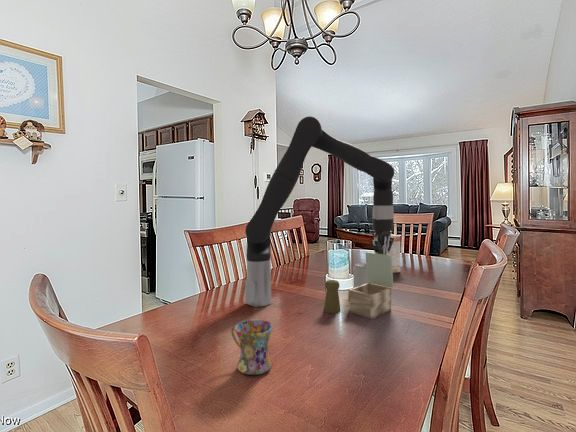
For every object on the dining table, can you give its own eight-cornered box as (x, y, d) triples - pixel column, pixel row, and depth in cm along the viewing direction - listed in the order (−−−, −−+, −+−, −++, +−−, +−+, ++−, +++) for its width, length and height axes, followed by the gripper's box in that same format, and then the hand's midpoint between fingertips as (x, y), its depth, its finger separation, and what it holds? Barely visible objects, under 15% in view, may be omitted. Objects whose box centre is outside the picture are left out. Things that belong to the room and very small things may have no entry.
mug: (280, 365, 84) (280, 324, 83) (257, 383, 77) (256, 337, 76) (244, 352, 91) (243, 314, 90) (219, 368, 83) (218, 326, 82)
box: (372, 319, 113) (372, 295, 113) (348, 311, 121) (348, 289, 120) (391, 310, 121) (391, 288, 121) (367, 303, 129) (367, 283, 128)
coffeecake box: (373, 267, 189) (373, 232, 188) (384, 266, 191) (384, 232, 190) (389, 273, 175) (389, 236, 173) (400, 272, 177) (401, 235, 175)
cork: (329, 306, 126) (329, 277, 126) (343, 309, 123) (343, 280, 122) (320, 310, 122) (320, 280, 121) (335, 314, 118) (334, 283, 117)
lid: (390, 255, 119) (391, 255, 119) (365, 252, 126) (366, 251, 127) (392, 287, 121) (393, 287, 121) (367, 282, 128) (368, 281, 129)
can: (371, 295, 139) (371, 266, 138) (353, 294, 141) (353, 266, 140) (370, 289, 146) (371, 262, 146) (353, 289, 148) (353, 262, 147)
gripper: (383, 216, 132) (383, 259, 133) (364, 218, 123) (363, 265, 124) (401, 216, 126) (400, 262, 127) (382, 219, 117) (381, 268, 118)
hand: (382, 263), depth 126 cm, fingers closed
